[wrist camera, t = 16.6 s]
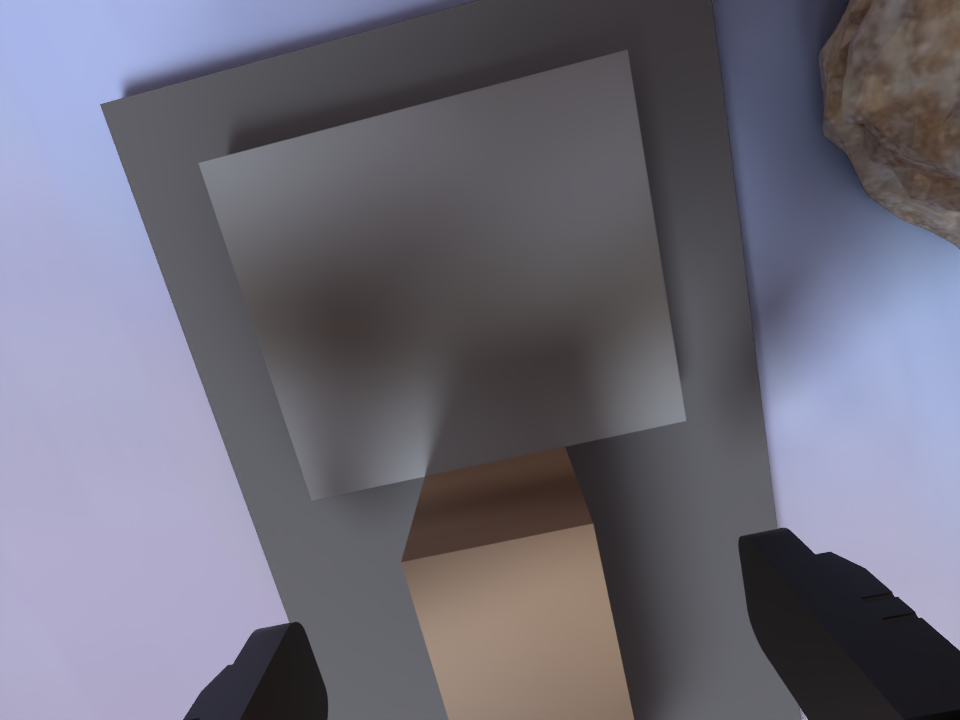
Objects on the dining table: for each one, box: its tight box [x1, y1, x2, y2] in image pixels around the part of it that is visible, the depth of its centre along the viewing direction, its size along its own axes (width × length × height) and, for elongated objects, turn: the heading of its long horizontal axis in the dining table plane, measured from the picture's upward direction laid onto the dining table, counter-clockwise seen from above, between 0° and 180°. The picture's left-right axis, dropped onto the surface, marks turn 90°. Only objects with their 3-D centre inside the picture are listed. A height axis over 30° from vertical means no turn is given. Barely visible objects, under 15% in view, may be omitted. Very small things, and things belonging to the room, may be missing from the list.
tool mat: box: [100, 0, 801, 720], centre depth 12 cm, size 20×12×1 cm, turn 13°
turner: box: [199, 50, 686, 720], centre depth 10 cm, size 17×8×4 cm, turn 13°
